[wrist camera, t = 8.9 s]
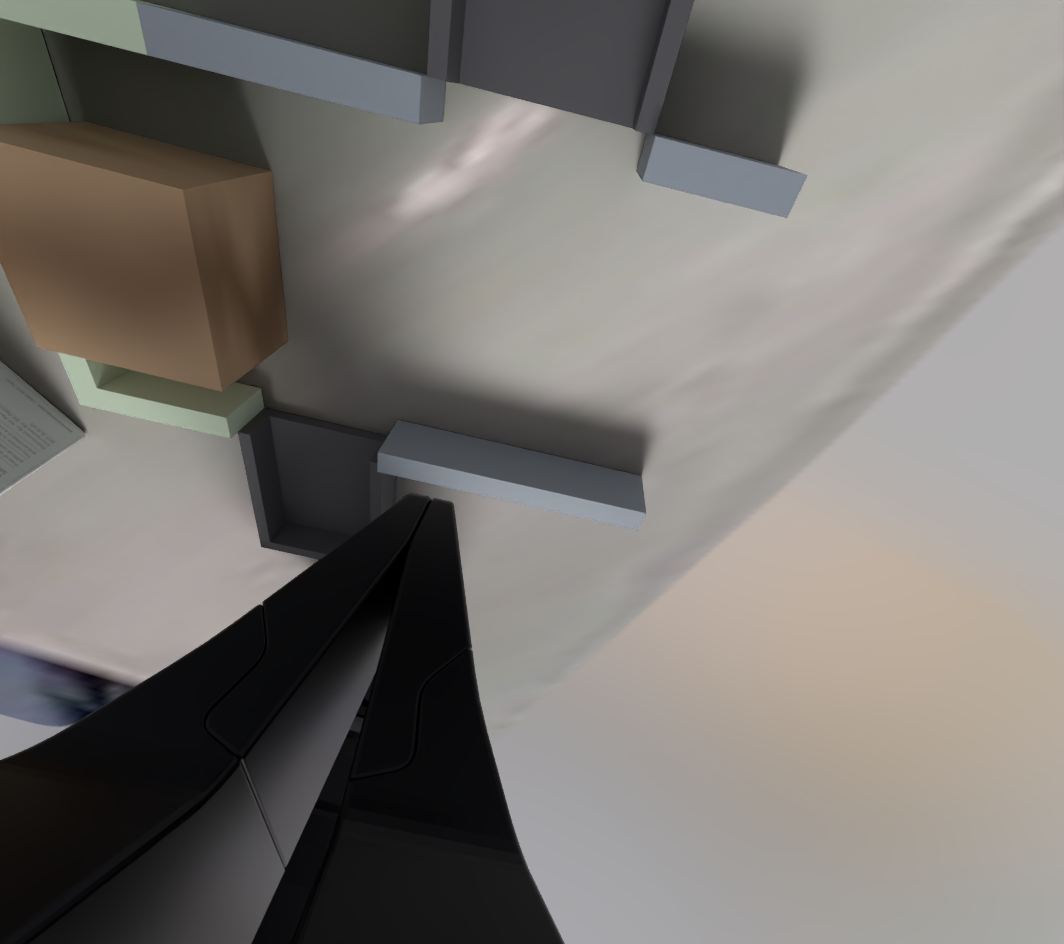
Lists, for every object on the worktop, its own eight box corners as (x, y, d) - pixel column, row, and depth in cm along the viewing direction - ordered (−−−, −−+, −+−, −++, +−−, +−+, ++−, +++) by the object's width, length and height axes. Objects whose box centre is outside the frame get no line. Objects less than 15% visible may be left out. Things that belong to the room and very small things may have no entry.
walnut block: (289, 339, 20) (222, 391, 16) (139, 302, 19) (37, 347, 16) (274, 170, 16) (182, 189, 13) (89, 121, 16) (-59, 126, 12)
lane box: (592, 588, 27) (591, 627, 25) (168, 494, 26) (132, 527, 24) (948, -222, 10) (1034, -302, 8) (-194, -560, 9) (-408, -739, 7)
